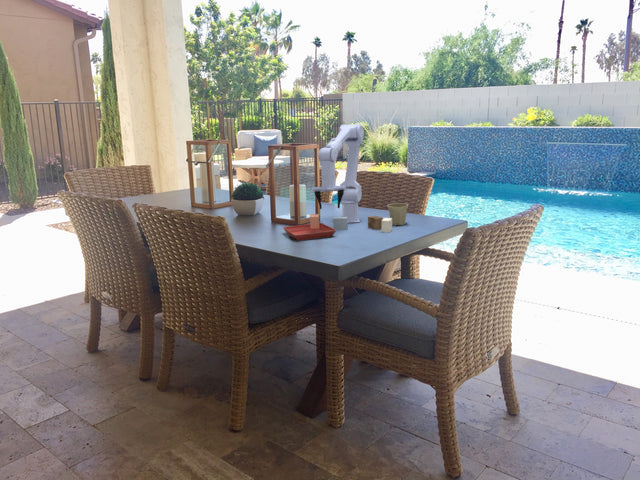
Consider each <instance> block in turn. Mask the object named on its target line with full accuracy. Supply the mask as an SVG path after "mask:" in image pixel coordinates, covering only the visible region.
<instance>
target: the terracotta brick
mask: <svg viewBox="0 0 640 480" xmlns="http://www.w3.org/2000/svg"><path fill="white" fill-rule="evenodd" d="M309 220H310V222H309V224H310V226H311V229H318V228H319V223H320V215H319V213H312V214H311V213H310V214H309Z"/></svg>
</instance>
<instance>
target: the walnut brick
mask: <svg viewBox="0 0 640 480" xmlns="http://www.w3.org/2000/svg"><path fill="white" fill-rule="evenodd" d="M383 219H384V217H382V216H379V215H370V216H367V228H368V229H372V230H376V231H378V230H382V220H383Z"/></svg>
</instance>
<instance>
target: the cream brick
mask: <svg viewBox="0 0 640 480" xmlns="http://www.w3.org/2000/svg"><path fill="white" fill-rule="evenodd" d="M392 230H393V225H392V218H390V217H383V220H382V229H381V233H391V232H392Z"/></svg>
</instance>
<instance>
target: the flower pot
mask: <svg viewBox="0 0 640 480" xmlns="http://www.w3.org/2000/svg"><path fill="white" fill-rule="evenodd" d="M386 207H387V209H388V212H389V218H392V226H404V225H405V224H406V219H407V218H406V217H407V211H408V207H409V204H407V203H401V202H400V203H390V204H389V203H388V204H387V205H386Z"/></svg>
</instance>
